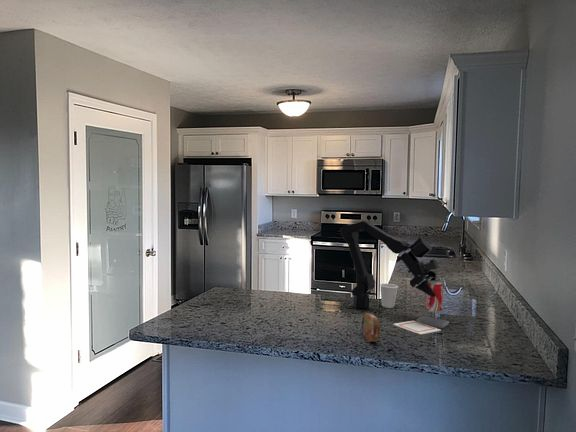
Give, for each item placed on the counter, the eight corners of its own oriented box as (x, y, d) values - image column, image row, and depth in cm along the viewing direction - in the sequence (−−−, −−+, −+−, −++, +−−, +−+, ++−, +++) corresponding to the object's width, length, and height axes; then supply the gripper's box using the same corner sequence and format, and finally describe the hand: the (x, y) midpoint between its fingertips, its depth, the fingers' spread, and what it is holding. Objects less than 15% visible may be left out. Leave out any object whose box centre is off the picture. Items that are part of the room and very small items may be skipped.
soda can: (440, 314, 183) (441, 285, 181) (422, 311, 186) (424, 282, 185) (443, 310, 189) (445, 281, 188) (426, 307, 192) (427, 279, 191)
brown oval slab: (360, 331, 170) (361, 309, 170) (368, 332, 171) (370, 309, 170) (371, 345, 155) (372, 321, 155) (380, 345, 156) (381, 321, 155)
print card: (392, 324, 182) (392, 323, 182) (413, 321, 189) (413, 320, 189) (420, 334, 171) (420, 333, 171) (441, 330, 177) (441, 329, 177)
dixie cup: (385, 303, 219) (386, 282, 218) (400, 307, 213) (401, 285, 212) (375, 305, 213) (376, 284, 212) (390, 309, 207) (391, 287, 206)
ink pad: (415, 322, 187) (416, 319, 187) (422, 318, 194) (422, 315, 194) (442, 328, 181) (442, 325, 181) (448, 324, 187) (449, 321, 187)
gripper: (419, 254, 181) (445, 287, 175) (435, 251, 196) (459, 281, 190) (399, 271, 186) (423, 303, 180) (415, 266, 201) (438, 296, 195)
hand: (437, 295), depth 186 cm, fingers closed on soda can, 7 cm apart
